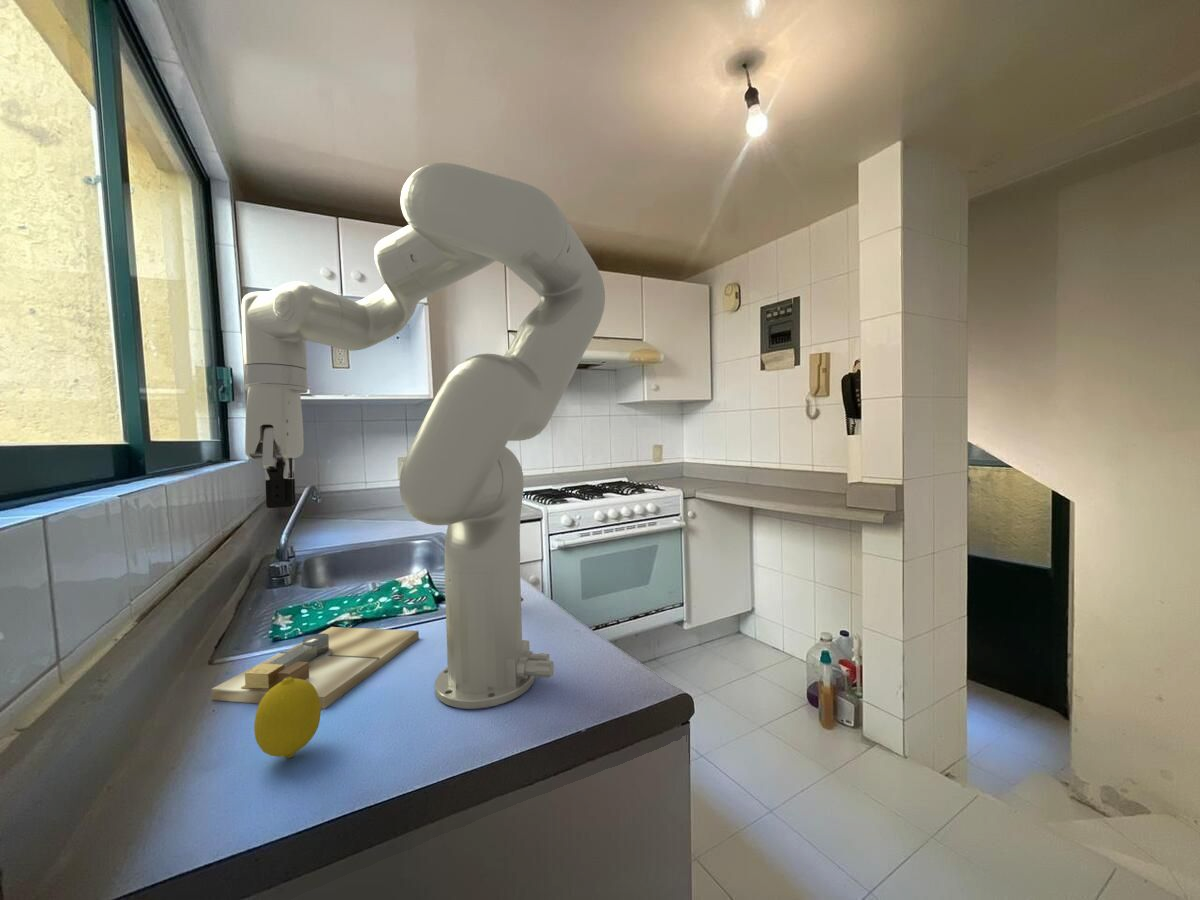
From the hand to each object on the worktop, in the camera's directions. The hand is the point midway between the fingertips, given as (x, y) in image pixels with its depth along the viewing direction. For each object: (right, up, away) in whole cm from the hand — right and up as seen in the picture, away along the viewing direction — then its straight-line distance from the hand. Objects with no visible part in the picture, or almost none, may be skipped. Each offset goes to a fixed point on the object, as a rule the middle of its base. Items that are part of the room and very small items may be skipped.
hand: (281, 506), depth 66 cm
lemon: (+15, -23, -21) cm, 34 cm away
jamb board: (+8, -23, -1) cm, 24 cm away
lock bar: (+5, -21, -5) cm, 22 cm away
